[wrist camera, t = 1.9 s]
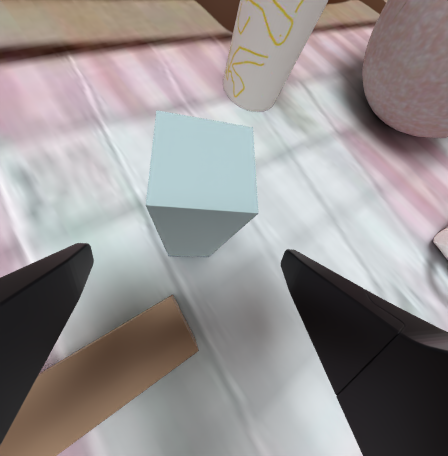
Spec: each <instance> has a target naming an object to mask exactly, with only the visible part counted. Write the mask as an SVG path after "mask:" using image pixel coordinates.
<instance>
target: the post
mask: <svg viewBox="0 0 448 456" xmlns="http://www.w3.org/2000/svg"><path fill="white" fill-rule="evenodd" d="M146 207H147V209H148V211H149V214H150V216H151V218H152V220H153V222H154V225H155V227H156V229H157V231H158V233H159V236H160V238H161V240H162V242H163V245H164V247H165V249H166V251H167V253H168V256H197V257H209V256H210V255H211V254H213V253H214V252H215V251H216V250H217V249H218V248H219V247H221V246H222V245H223V244H224V243H225V242H226V241H227V240H229V239H230V238H231V237H232V236H233V235H234V234H235V233H237V232H238V231H239V230H240V229H241V228H242V227H243V226H245V225H246V224H247V223H248V222H249V221H250V220H251V219H253V218H254V217H255V216H256V215H257V214H258V199H257V183H256V168H255V153H254V138H253V127H248V126H242V125H236V124H231V123H225V122H219V121H214V120H208V119H202V118H197V117H191V116H186V115H180V114H174V113H169V112H163V111H157V110H156V119H155V128H154V137H153V146H152V155H151V163H150V172H149V181H148V190H147V199H146Z"/></svg>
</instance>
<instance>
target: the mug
mask: <svg viewBox="0 0 448 456" xmlns="http://www.w3.org/2000/svg"><path fill="white" fill-rule="evenodd" d="M434 243H435V244H436V246H437V247H438V248H439V249H440V251H441V252H442V253H443V255H444V256H445V257H446V258H447V260H448V227H447V228H445V229H444V230H442V231H441V232H439V233H438V234H437V235H436V236H435V237H434Z"/></svg>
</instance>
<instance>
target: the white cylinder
mask: <svg viewBox="0 0 448 456" xmlns="http://www.w3.org/2000/svg"><path fill="white" fill-rule="evenodd" d="M327 2H328V0H240V4H239V9H238V14H237V18H236V23H235V28H234V32H233V37H232V42H231V46H230V51H229V56H228V60H227V65H226V70H225V74H224V79H223V87H224V90H225V93H226V94H227V96H228V97H229V98H230V100H231V101H233V102H234V103H235V104H236V105H238V106H239V107H241V108H243V109H246V110H249V111H253V112H262V111H266V110H268V109H270V108H271V107H272V106H273V105H274V103H275V101H276V99H277V97H278V95H279V93H280V91H281V89H282V88H283V86H284V84H285V82H286V80H287V78H288V76H289V74H290V72H291V70H292V69H293V67H294V65H295V63H296V61H297V59H298V57H299V55H300V53H301V52H302V50H303V48H304V46H305V44H306V42H307V40H308V38H309V36H310V34H311V33H312V31H313V29H314V27H315V25H316V23H317V21H318V19H319V17H320V15H321V14H322V12H323V10H324V8H325V6H326V4H327Z"/></svg>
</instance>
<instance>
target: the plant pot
mask: <svg viewBox="0 0 448 456" xmlns="http://www.w3.org/2000/svg"><path fill="white" fill-rule="evenodd" d="M362 79H363V87H364V93H365V96H366V98H367V101H368V103H369V105H370V107H371V108H372V110H373V112H374V113H375V114H376V115H377V116H378V117H379V118H380V119H381V120H382V121H383V122H384V123H386V124H387V125H388V126H390V127H392V128H394V129H395V130H397V131H400V132H403V133H406V134H409V135H413V136H419V137H432V138H445V137H448V0H388V1H387V3H386V5H385V7H384V8H383V11H382V12H381V14H380V16H379V18H378V20H377V22H376V25H375V27H374V29H373V31H372V34H371V37H370V39H369V42H368V45H367V49H366V53H365V58H364V62H363V70H362Z"/></svg>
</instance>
